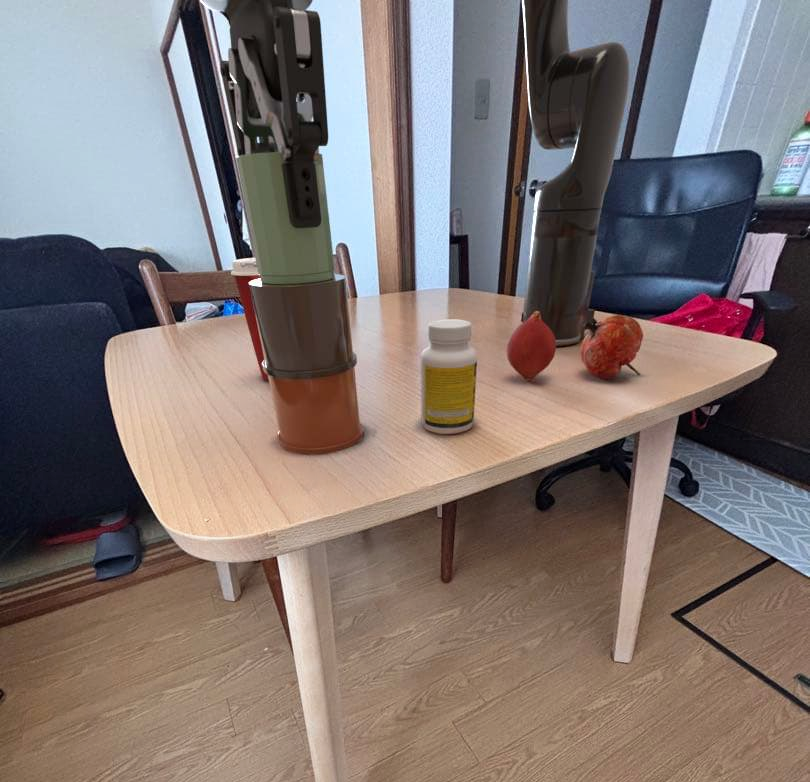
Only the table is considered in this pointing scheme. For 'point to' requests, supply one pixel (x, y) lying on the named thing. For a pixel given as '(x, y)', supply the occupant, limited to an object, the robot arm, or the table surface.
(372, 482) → the table surface
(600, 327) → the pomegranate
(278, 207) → the green cup
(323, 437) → the cup stack
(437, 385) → the supplement bottle
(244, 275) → the paper cup
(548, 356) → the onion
